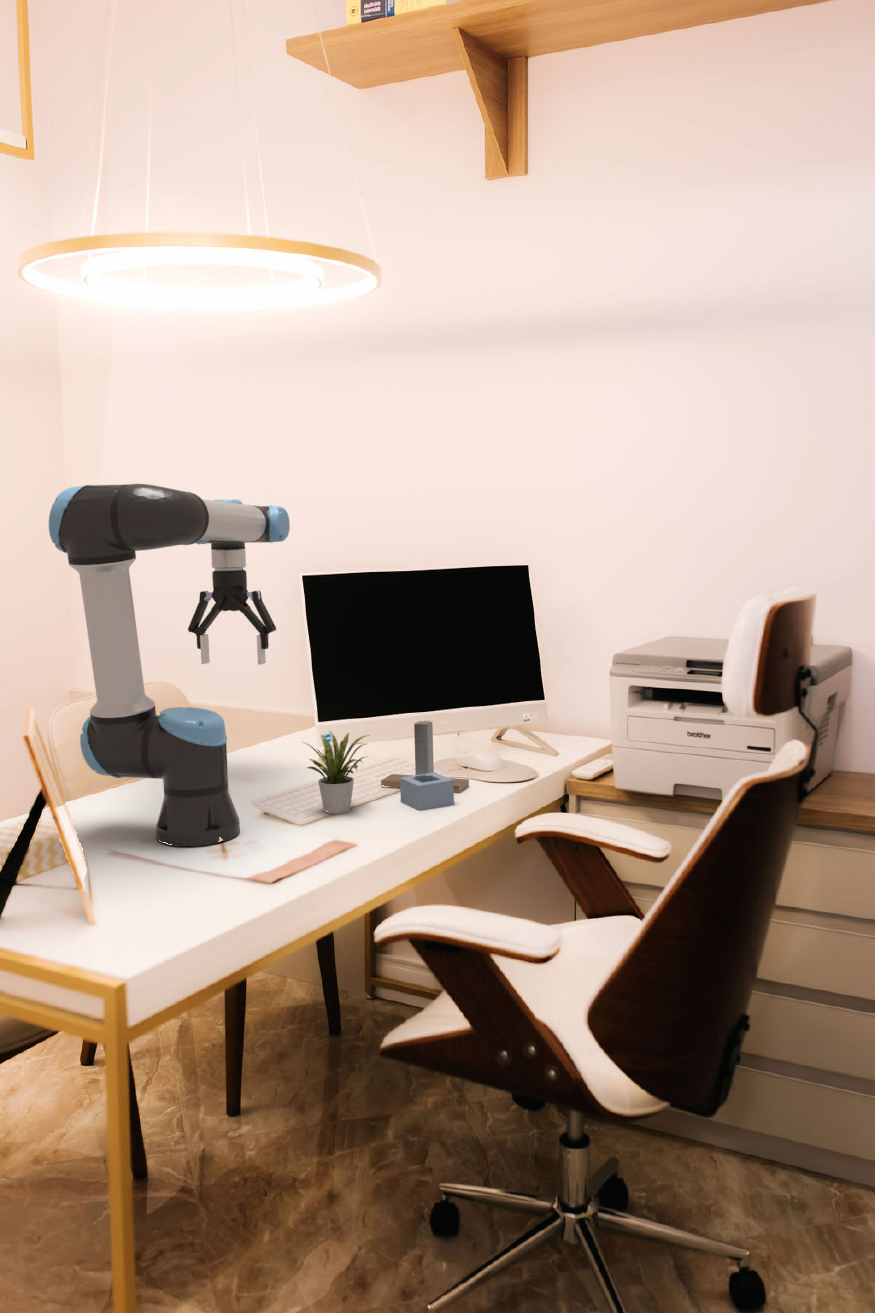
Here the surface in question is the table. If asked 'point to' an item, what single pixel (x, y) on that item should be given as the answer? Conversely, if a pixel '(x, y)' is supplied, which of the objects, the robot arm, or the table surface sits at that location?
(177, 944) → the table surface
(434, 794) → the blue-grey hollow block
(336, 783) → the house plant
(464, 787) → the keyed post
